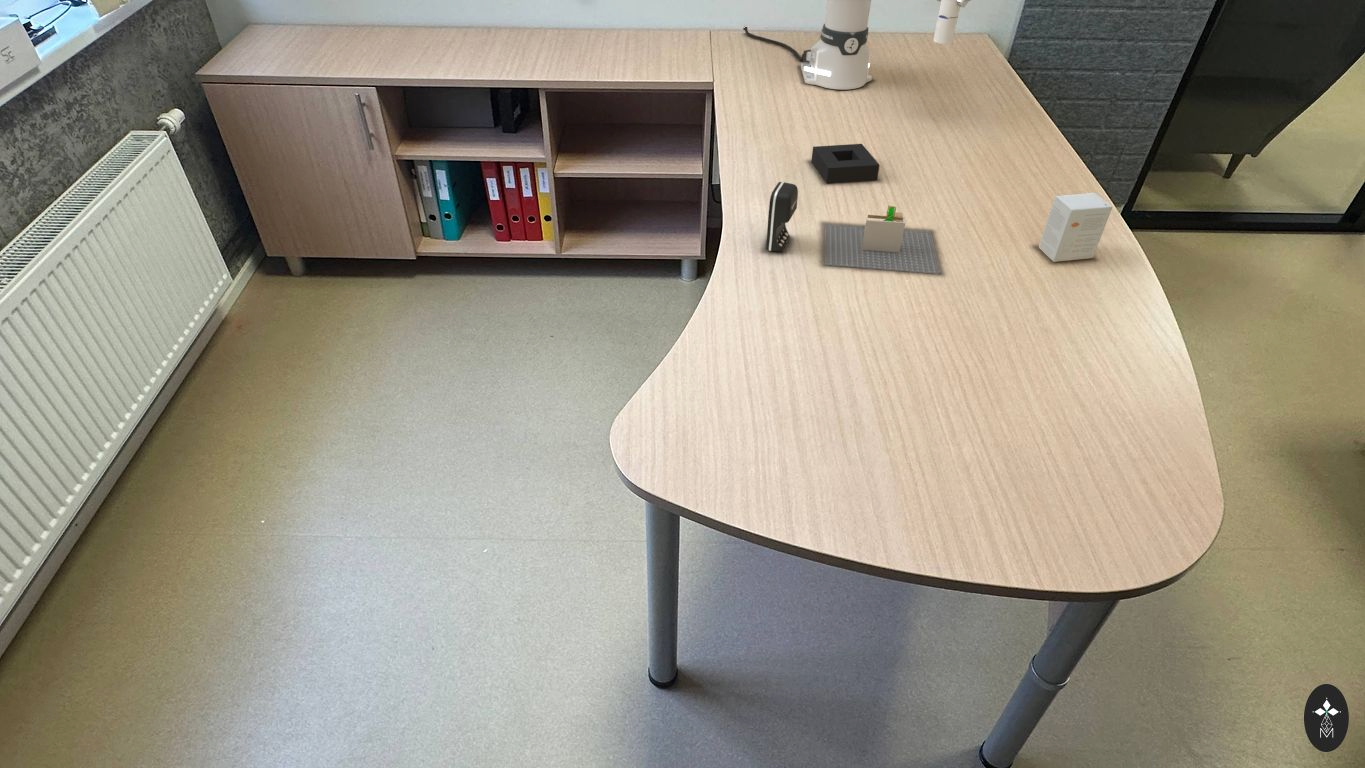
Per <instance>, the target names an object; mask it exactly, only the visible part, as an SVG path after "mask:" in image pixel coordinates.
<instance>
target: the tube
mask: <svg viewBox="0 0 1365 768" xmlns="http://www.w3.org/2000/svg"><path fill="white" fill-rule="evenodd" d="M960 10H961V7H960V6H958V4H957V0H941V2H940V5H939V11H938V15H937V19H936V24H935V29H934V35H933V40H932V41H933V42H934V43H935V44H938V45H951V44H952V43H953V42H954V36H955V33H956V28H957V23H958V19H959V13H960Z"/></svg>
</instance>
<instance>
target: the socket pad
mask: <svg viewBox="0 0 1365 768" xmlns="http://www.w3.org/2000/svg"><path fill="white" fill-rule="evenodd" d="M810 161H811V162H810V163H812V165H813V166H814V168H815V170H816V171H817V172H818V174H819V175H820V176H821V178H822V179H823V181H824V182H825V184H840V183H841V184H843V183H855V182H870V181H871V182H872V181H878V177H879V171H880V164H879V162H878V161H877V160H876V158H875V157H874V156H873V155H872V154H871V153H870V152H869V150H868V149H867V148H866V147H865V146H864V144H863V143H852V144H851V143H850V144H835V145H833V144H832V145H819V146H812V153H811V160H810Z"/></svg>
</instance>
